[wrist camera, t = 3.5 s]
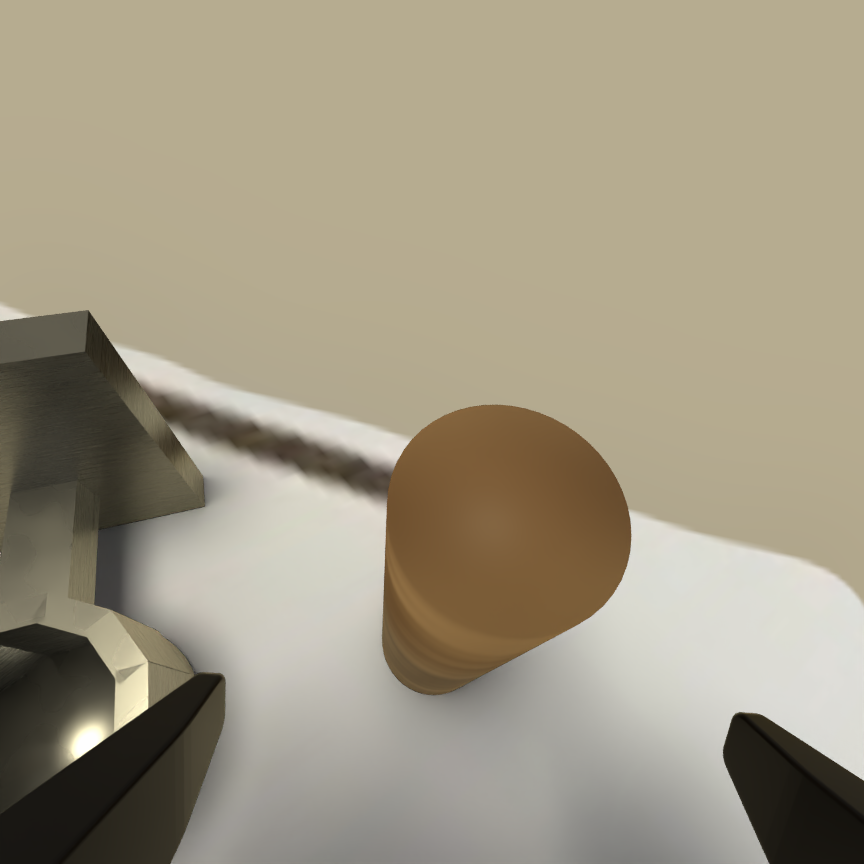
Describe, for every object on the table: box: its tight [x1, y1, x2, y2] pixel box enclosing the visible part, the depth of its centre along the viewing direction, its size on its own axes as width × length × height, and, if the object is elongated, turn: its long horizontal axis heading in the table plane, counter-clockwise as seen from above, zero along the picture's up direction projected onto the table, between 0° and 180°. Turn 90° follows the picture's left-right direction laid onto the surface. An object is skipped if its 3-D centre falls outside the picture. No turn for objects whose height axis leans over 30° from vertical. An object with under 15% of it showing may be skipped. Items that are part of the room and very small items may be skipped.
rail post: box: [382, 405, 631, 695], centre depth 13 cm, size 4×4×13 cm
